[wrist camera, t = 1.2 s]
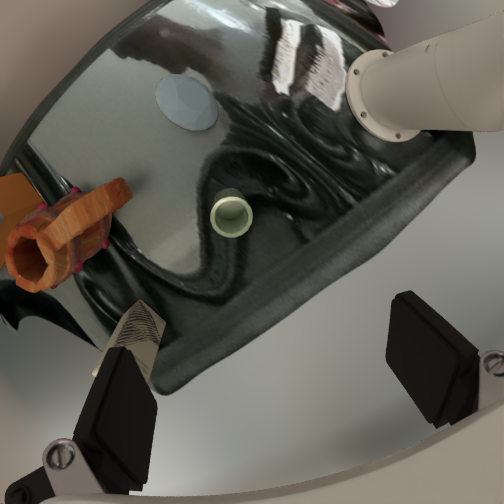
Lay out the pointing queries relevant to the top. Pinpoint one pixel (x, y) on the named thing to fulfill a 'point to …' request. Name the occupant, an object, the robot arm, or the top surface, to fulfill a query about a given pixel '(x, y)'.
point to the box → (138, 336)
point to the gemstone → (186, 102)
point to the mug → (62, 235)
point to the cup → (231, 213)
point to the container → (14, 205)
